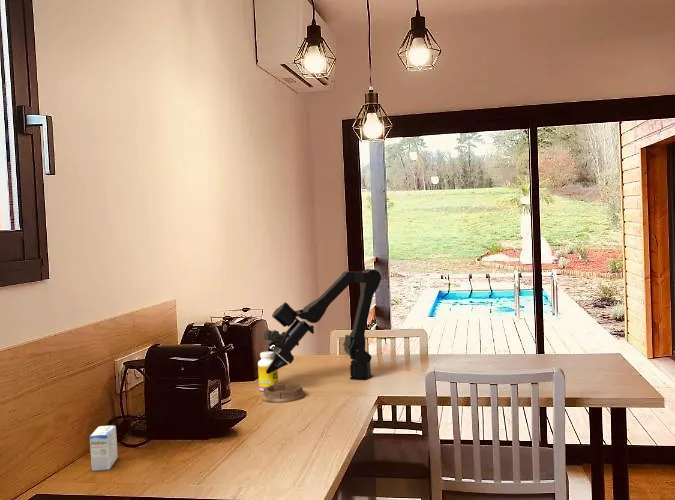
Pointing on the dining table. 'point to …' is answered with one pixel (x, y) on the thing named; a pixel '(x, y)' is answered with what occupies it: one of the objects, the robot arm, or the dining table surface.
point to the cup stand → (283, 393)
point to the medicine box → (103, 448)
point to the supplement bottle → (263, 365)
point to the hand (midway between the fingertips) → (264, 370)
